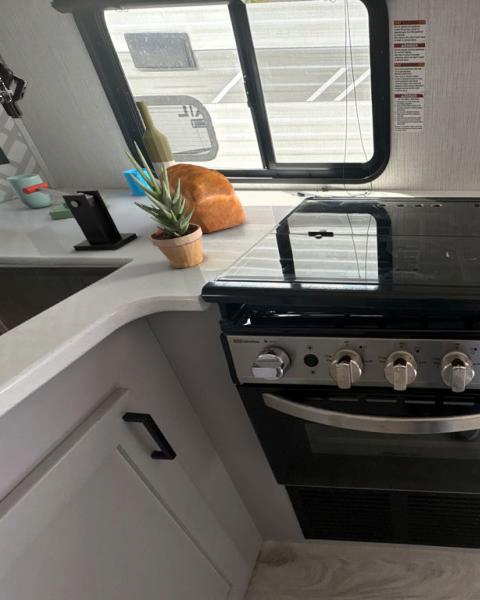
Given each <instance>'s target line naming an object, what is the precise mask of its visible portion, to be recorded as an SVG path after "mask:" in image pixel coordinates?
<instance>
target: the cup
mask: <svg viewBox="0 0 480 600" xmlns="http://www.w3.org/2000/svg"><path fill="white" fill-rule="evenodd" d="M6 182H7V183H8V184H9V186H10V187H11V189H12V190H13V192H14V193H15V195H16V196H17V197H18V199H19V201H21V203H23V204H24V205H25V206H26V207H27V208H31V209H41V208H46V207H49V206H50V205H51V204H52V197H51V195H48V194H44V193H40V192H35V193H32V194H25V193H24V192H23V191H22V189H23V188H25V187H29V186H33V185H36V184H40V183H44V182H43V180H42V178H41V176H40V175H39V174H38V173H27V174H20V175H13V176H10V177H7V178H6Z"/></svg>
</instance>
